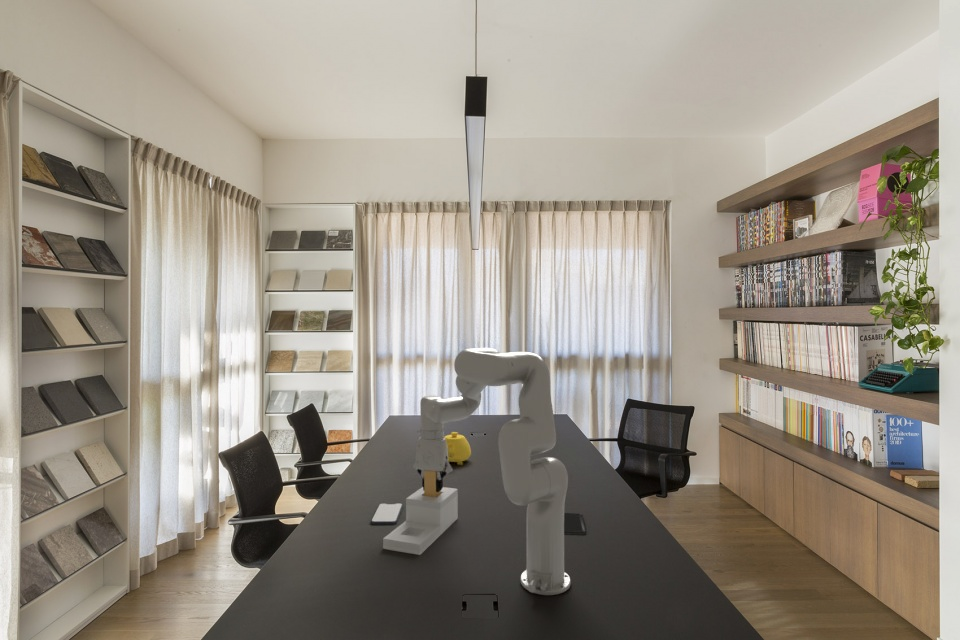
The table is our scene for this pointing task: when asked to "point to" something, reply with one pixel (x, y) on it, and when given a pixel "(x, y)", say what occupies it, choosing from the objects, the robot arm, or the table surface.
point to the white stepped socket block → (423, 521)
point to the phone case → (387, 514)
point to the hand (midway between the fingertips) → (432, 489)
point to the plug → (430, 484)
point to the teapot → (457, 448)
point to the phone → (574, 524)
